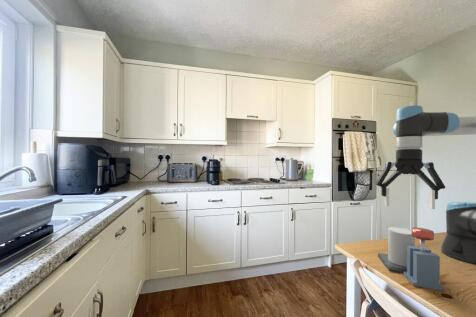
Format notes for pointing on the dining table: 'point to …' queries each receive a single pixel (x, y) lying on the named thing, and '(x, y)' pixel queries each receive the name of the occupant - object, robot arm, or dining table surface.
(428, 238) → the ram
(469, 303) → the dining table surface
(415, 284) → the press frame
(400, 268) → the press bed
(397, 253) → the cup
